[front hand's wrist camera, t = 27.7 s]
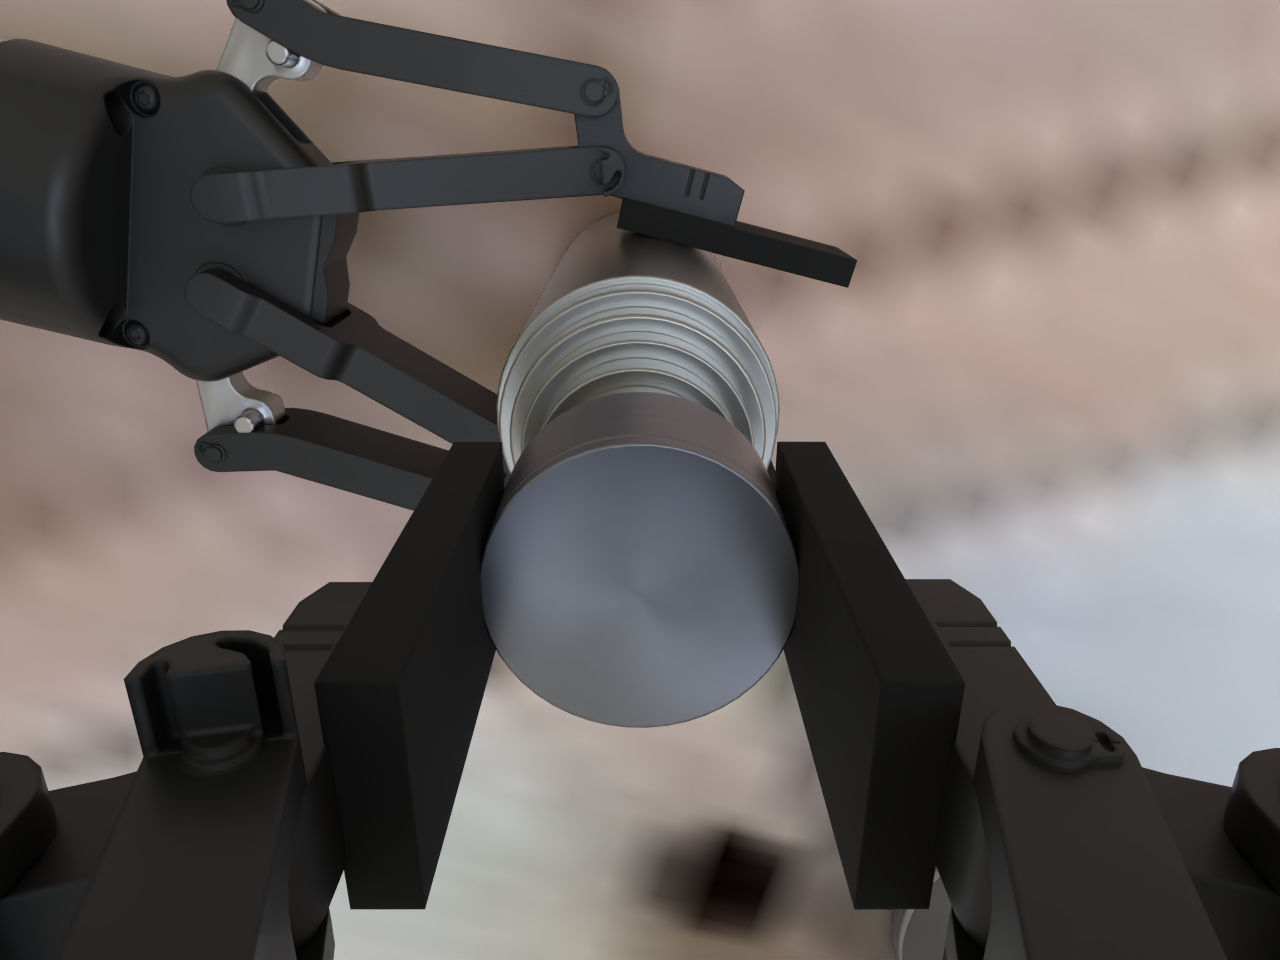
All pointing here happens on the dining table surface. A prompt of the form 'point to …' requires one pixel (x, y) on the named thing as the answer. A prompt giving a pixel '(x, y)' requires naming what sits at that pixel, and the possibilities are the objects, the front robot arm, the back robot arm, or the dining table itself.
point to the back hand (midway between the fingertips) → (803, 378)
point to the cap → (639, 563)
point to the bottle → (636, 339)
